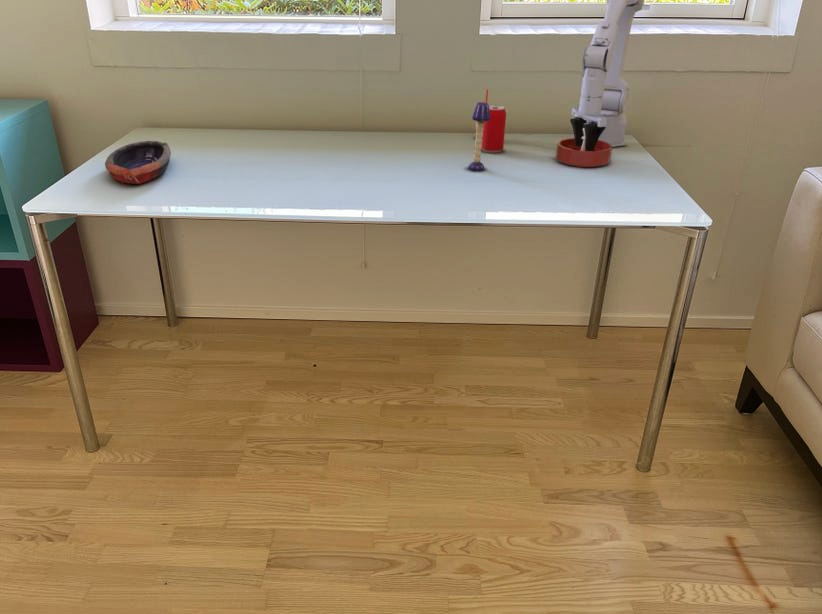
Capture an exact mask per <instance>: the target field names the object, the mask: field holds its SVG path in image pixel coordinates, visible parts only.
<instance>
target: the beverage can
mask: <svg viewBox="0 0 822 614" xmlns="http://www.w3.org/2000/svg"><path fill="white" fill-rule="evenodd" d="M488 105H489V104H488ZM505 108H506V107H505V106H504V105H499V104H498V105H497V104H491V105H489V111H490V120H489V121H484V125H483V132H482V133H483V137H482V144H481V145H482V149H481V151H483V152H484V153H488V154H497V153H500V152H501V151H503V150H504V146H505V132H506V120H507V111H506V109H505Z"/></svg>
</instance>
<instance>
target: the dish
mask: <svg viewBox="0 0 822 614" xmlns="http://www.w3.org/2000/svg"><path fill="white" fill-rule="evenodd" d="M171 156H172V151H171V148H170V146H169V144H168V142H166V141H164V142H162V141H158V140H144V141H143V140H142V141H137V142H132V143H129V144H126V145H124V146H121V147H119V148H117V149H115V150H114V151H112V152H111V153H110V154H109V155H108V156H107V157H106V159H105V162H104V166H105V167H104V168H105V169H106V171H107V172H108V173H109V175H110V177H112V179H114V180H115V181H118V182H121V183H122V184H123V183H125V184H132V185H133V184H134V185H139V184H140V185H141V184H143V183H146V182H148V181H151V180H154V179H157V178H158V177H159V176H161V175H162V174H163V173H164V172H165V171H166V170H167V169H168V166H169V163H170V160H171Z"/></svg>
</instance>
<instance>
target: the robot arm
mask: <svg viewBox="0 0 822 614" xmlns="http://www.w3.org/2000/svg"><path fill="white" fill-rule="evenodd" d="M605 1H606V4H607V5H606V11H605V13H604V14H605V15H604V17H603V20H602V21H600V22H599V23H598V24H597V25H596V29H595V31H594V33H593V36H592V39H591V41H590V43H589V46H587V47H585V48H584V50H583V53H582V59H581V77H582V82H581V88H580V97H579V102H578V107H572V108H571V109H572V110H571V116H573V117H574V118H570V119H569V120H570V124H571V127H572V131H573V138H574V139H575V146H582V144H583V139H582V137H583V136H584V133H583V128H584V130H585V138H586V139H585V151H593V150H594V148H595V146H596V143H597V141H598V140H601V141H605V142H607V143H610V144H611V145H612V148H614V147H615V148H616V147H624V146H626V144H625V143H624V142H625V137H626V130H627V124H628V123H627V117H626V114H625V113H624V112H625V111H626V110H627V109H626V108H627V105H628V102H629V91H630V86H629V84H628V82H627V81H626V80H625V79H624V78H623V77H622V74H623V69H624V64H625V59H626V54H627V49H628V44H629V41H630V40H629V39H630V34H631V29H632V25H633V21H634V18H635V15H636V13H638V12H639V11H642V9H643V6H644V4H645V0H605ZM613 88H615V89H613ZM587 121H589V123H591V124H585V123H587Z"/></svg>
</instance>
